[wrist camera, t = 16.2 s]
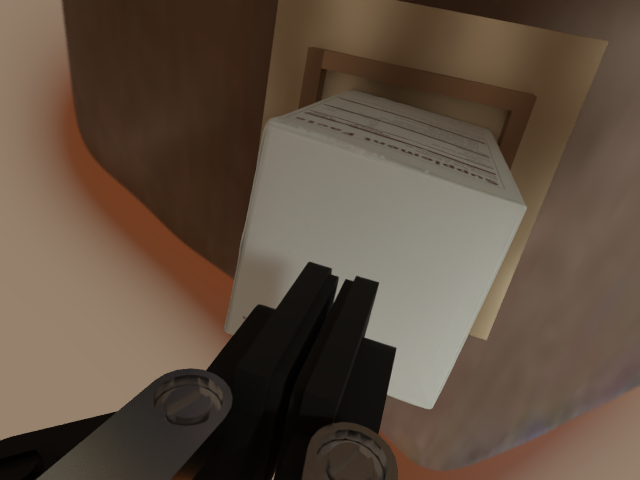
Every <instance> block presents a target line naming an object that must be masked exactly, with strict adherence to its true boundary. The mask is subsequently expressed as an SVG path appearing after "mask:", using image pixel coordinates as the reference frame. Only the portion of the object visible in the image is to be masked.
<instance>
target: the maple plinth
mask: <svg viewBox="0 0 640 480" xmlns="http://www.w3.org/2000/svg"><path fill="white" fill-rule="evenodd" d="M608 42H609V41H604V40H599V39H594V38H589V37H584V36H579V35H573V34H568V33H563V32H558V31H553V30H548V29H542V28H537V27H532V26H527V25H522V24H517V23H512V22H506V21H501V20H496V19H491V18H486V17H481V16H475V15H470V14H465V13H460V12H455V11H450V10H444V9H439V8H434V7H429V6H424V5H419V4H414V3H408V2H403V1H398V0H278V7H277V15H276V23H275V30H274V38H273V45H272V53H271V60H270V68H269V75H268V83H267V91H266V98H265V106H264V113H263V121H262V128H261V136H260V143H259V150H260V146H261V141H262V135H263V131H264V127H265V125H266V123H267V121H268V120H269V119H270V118H274V117H278V116H282V115H285V114H288V113H290V112H293V111H295V110H298V109H301V108H303V107H306V106H308V105H311V104H313V103H316V102H318V101H321V100H324V99H326V98H329V97H331V96H334V95H337V94H339V93H342V92H345V91H348V90H351V89H355V90H359V91H362V92H366V93H369V94H373V95H376V96H379V97H383V98H386V99H390V100H393V101H396V102H400V103H403V104H406V105H410V106H413V107H416V108H420V109H423V110H426V111H430V112H433V113H436V114H440V115H443V116H447V117H450V118H453V119H457V120H460V121H464V122H467V123H471V124H474V125H477V126H481V127H485V128H489V129H490V130H491V132H492V134H493V136H494V138H495V140H496V142H497V144H498V146H499V149H500V151H501V153H502V155H503V157H504V159H505V162H506V164H507V166H508V168H509V170H510V172H511V174H512V177H513V179H514V181H515V183H516V185H517V187H518V189H519V192H520V194H521V196H522V199H523V201H524V203H525V205H526V206H527V209H526V212H525V214H524V216H523V218H522V221H521V223H520V225H519V227H518V230H517V232H516V234H515V236H514V238H513V241H512V243H511V245H510V247H509V250H508V252H507V254H506V256H505V258H504V260H503V262H502V264H501V267H500V269H499V271H498V273H497V275H496V277H495V279H494V282H493V284H492V286H491V288H490V290H489V292H488V294H487V296H486V299H485V301H484V303H483V305H482V307H481V309H480V311H479V313H478V315H477V318H476V320H475V322H474V324H473V326H472V328H471V330H470V332H469V334H468V335H471V336H474V337H478V338H481V339H484V340H487V337H488V335H489V333H490V330H491V328H492V325H493V323H494V320H495V318H496V315H497V313H498V311H499V308H500V306H501V303H502V301H503V298H504V296H505V293H506V291H507V289H508V286H509V284H510V281H511V279H512V276H513V274H514V272H515V269H516V267H517V264H518V262H519V259H520V257H521V254H522V252H523V250H524V247H525V245H526V242H527V240H528V237H529V235H530V232H531V230H532V228H533V225H534V223H535V220H536V218H537V215H538V213H539V210H540V208H541V206H542V203H543V201H544V198H545V196H546V193H547V191H548V189H549V186H550V184H551V181H552V179H553V176H554V174H555V171H556V169H557V167H558V164H559V162H560V159H561V157H562V154H563V152H564V149H565V147H566V145H567V142H568V140H569V137H570V135H571V132H572V130H573V128H574V125H575V123H576V120H577V118H578V115H579V113H580V110H581V108H582V106H583V103H584V101H585V98H586V96H587V93H588V91H589V88H590V86H591V84H592V81H593V79H594V76H595V74H596V71H597V69H598V66H599V64H600V62H601V59H602V57H603V54H604V52H605V49H606V47H607V45H608ZM258 155H259V151H258ZM257 161H258V159H257Z"/></svg>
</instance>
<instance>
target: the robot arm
mask: <svg viewBox="0 0 640 480" xmlns="http://www.w3.org/2000/svg"><path fill="white" fill-rule="evenodd" d="M331 274H332V268H329V267H326V266H323V265H319V264H316V263H313V262H308V263H307V265H306V266H305V267H304V269H303V270H302V272H301V273H300V275H299V276H298V278H297V279H296V280H295V282H294V283H293V285H292V286H291V288H290V289H289V291H288V292H287V294H286V295H285V296H284V298H283V299H282V301H281V302H280V304H279V305H278V307H277V308H276V309H274V308H271V307H268V306H265V305H261V304H258V305H257V306H256V307H255V308H254V309H253V310H252V312H251V313H250V314H249V316H248V317H247V318H246V319H245V321H244V322H243V323H242V325H241V326H240V327H239V329H238V330H237V331H236V332H235V334H234V335H233V336H232V338H231V339H230V340H229V342H228V343H227V344H226V346H225V347H224V348H223V349H222V351H221V352H220V353H219V354H218V356H217V357H216V358H215V360H214V361H213V362H212V364H211V365H210V366H209V367H208V369H207V370H206V371H205V370H200V369H181V370H176V371H173V372H170V373H167V374H164V375H163V376H161V377H160V378H158V379H156V380H155V381H154V382H152V383H151V384H150V385H149V386H148V387H147V388H145V389H144V390H143V391H142V392H140V393H139V394H138V395H137V396H136V397H134V398H133V399H132V400H131V401H130V402H129V403H127V404H126V405H125V406H124V407H122V408H121V409H120V410H119V411H117V412H113V413H109V414H104V415H100V416H96V417H92V418H88V419H84V420H79V421H75V422H71V423H67V424H63V425H58V426H55V427H50V428H46V429H42V430H38V431H34V432H29V433H25V434H21V435H17V436H12V437H9V438H6V439H3V440H1V441H0V480H272V477H273V475H274V473H275V476H274V480H398V469H397V463H396V458H395V456H394V454H393V452H392V450H391V448H390V446H389V445H388V444H387V443H386V442H385V441H384V440H383V439H382V438H381V437H380V436H379V435H378V434H379V429H380V424H381V420H382V415H383V410H384V406H385V401H386V396H387V392H388V387H389V382H390V378H391V373H392V368H393V364H394V359H395V354H396V347H393V346H390V345H386V344H383V343H380V342H377V341H374V340H371V339H368V338H365V334H366V330H367V326H368V323H369V319H370V315H371V312H372V308H373V305H374V301H375V297H376V294H377V290H378V286H379V282H376V281H373V280H370V279H366V278H363V277H360V276H356V277H355V279H354V281H351V280H348V279H345V281H344V283H343V285H342V287H341V289H340V291H339V293H338V295H337V297H336V299H335V301H334V298H335V294H336V289H337V285H338V280H339V277H338V276H335V275H331ZM275 470H276V471H275Z"/></svg>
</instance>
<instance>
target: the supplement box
mask: <svg viewBox="0 0 640 480" xmlns="http://www.w3.org/2000/svg"><path fill="white" fill-rule="evenodd" d="M526 209H527V206H526V205H525V203H524V201H523V199H522V196H521V194H520V192H519V189H518V187H517V185H516V183H515V181H514V179H513V177H512V174H511V172H510V170H509V168H508V166H507V164H506V162H505V159H504V157H503V155H502V153H501V151H500V149H499V146H498V144H497V142H496V140H495V138H494V136H493V134H492V132H491V130H490V129H489V128H485V127H481V126H477V125H474V124H471V123H467V122H464V121H460V120H457V119H453V118H450V117H447V116H443V115H440V114H436V113H433V112H430V111H426V110H423V109H420V108H416V107H413V106H410V105H406V104H403V103H400V102H396V101H393V100H390V99H386V98H383V97H379V96H376V95H373V94H369V93H366V92H362V91H359V90H355V89H351V90H348V91H345V92H342V93H339V94H337V95H334V96H331V97H329V98H326V99H324V100H321V101H318V102H316V103H313V104H311V105H308V106H306V107H303V108H301V109H298V110H295V111H293V112H290V113H288V114H285V115H282V116H278V117H274V118H270V119H269V120H268V121H267V123H266V125H265V127H264V131H263V135H262V141H261V146H260V150H259V155H258V161H257V166H256V172H255V177H254V182H253V187H252V192H251V197H250V202H249V207H248V212H247V218H246V222H245V227H244V231H243V235H242V239H241V243H240V249H239V258H238V263H237V268H236V273H235V278H234V283H233V289H232V293H231V298H230V304H229V309H228V313H227V318H226V322H225V326H224V330H225V332H226V333H228V334H231V335H234V334H235V332H236V331H237V330H238V329H239V327H240V326H241V325H242V323H243V322H244V321H245V319H246V318H247V317H248V316H249V314H250V313H251V312H252V310H253V309H254V308H255V307H256V306H257V305H258V304H261V305H265V306H268V307H271V308H274V309H276V308H277V307H278V305H279V304H280V302H281V301H282V299H283V298H284V296H285V295H286V294H287V292H288V291H289V289H290V288H291V286H292V285H293V283H294V282H295V280H296V279H297V278H298V276H299V275H300V273H301V272H302V270H303V269H304V267H305V266H306V265H307V263H308V262H313V263H316V264H319V265H323V266H326V267H329V268H332V274H331V275H335V276H338V277H339V280H338V285H337V289H336V294H335V298H334V301H335V299H336V297H337V295H338V293H339V291H340V289H341V287H342V285H343V283H344V281H345V279H348V280H351V281H354V279H355V277H356V276H360V277H363V278H366V279H370V280H373V281H376V282H379V286H378V290H377V294H376V297H375V301H374V305H373V308H372V312H371V315H370V319H369V323H368V326H367V330H366V334H365V338H368V339H371V340H374V341H377V342H380V343H383V344H386V345H390V346H393V347H396V354H395V359H394V364H393V368H392V373H391V378H390V382H389V387H388V392H387V395H389V396H392V397H394V398H396V399H399V400H402V401H404V402H407V403H410V404H413V405H416V406H419V407H422V408H425V409H432V408H433V406H434V404H435V402H436V400H437V398H438V396H439V394H440V392H441V390H442V388H443V387H444V385H445V382H446V380H447V378H448V376H449V374H450V372H451V370H452V368H453V366H454V364H455V362H456V360H457V357H458V355H459V353H460V351H461V349H462V347H463V345H464V343H465V341H466V339H467V336H468V334H469V332H470V330H471V328H472V326H473V324H474V322H475V320H476V318H477V315H478V313H479V311H480V309H481V307H482V305H483V303H484V301H485V299H486V296H487V294H488V292H489V290H490V288H491V286H492V284H493V282H494V279H495V277H496V275H497V273H498V271H499V269H500V267H501V264H502V262H503V260H504V258H505V256H506V254H507V252H508V250H509V247H510V245H511V243H512V241H513V238H514V236H515V234H516V232H517V230H518V227H519V225H520V223H521V221H522V218H523V216H524V214H525V212H526Z"/></svg>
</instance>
